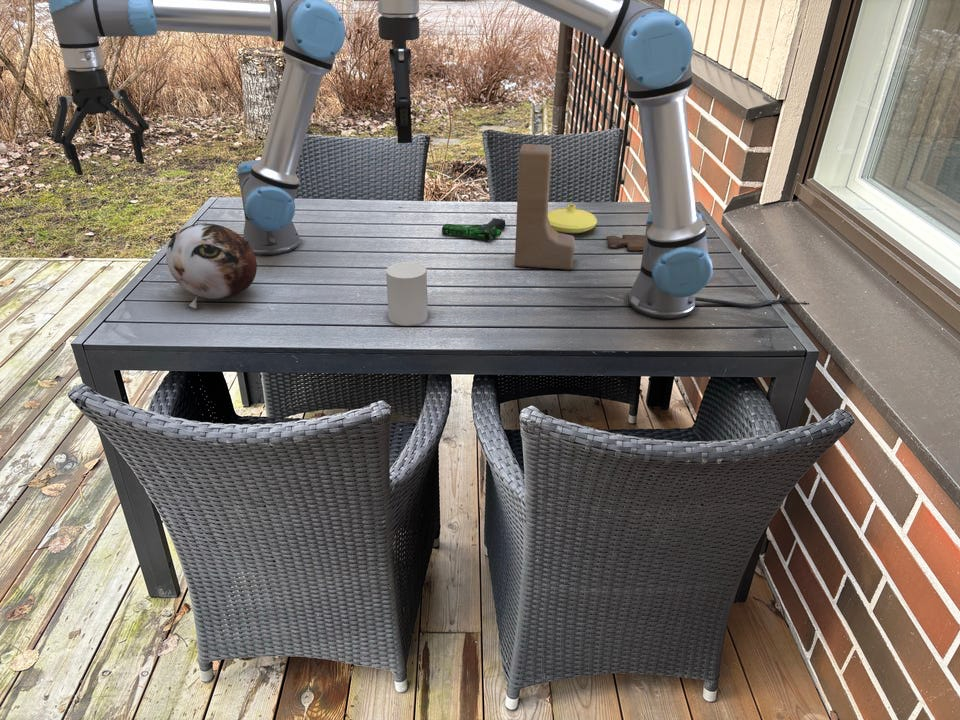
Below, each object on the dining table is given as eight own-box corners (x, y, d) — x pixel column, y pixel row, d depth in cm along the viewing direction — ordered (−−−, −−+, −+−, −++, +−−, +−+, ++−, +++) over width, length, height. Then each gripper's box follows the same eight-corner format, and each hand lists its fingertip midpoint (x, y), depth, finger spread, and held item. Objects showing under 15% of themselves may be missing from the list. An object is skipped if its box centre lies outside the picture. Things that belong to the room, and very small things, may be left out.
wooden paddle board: (703, 254, 196) (694, 240, 205) (704, 248, 195) (696, 235, 204) (609, 250, 196) (605, 237, 205) (610, 244, 196) (605, 232, 204)
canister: (419, 328, 157) (418, 280, 151) (382, 322, 159) (379, 275, 153) (433, 311, 164) (432, 264, 158) (397, 305, 166) (395, 259, 160)
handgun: (511, 219, 210) (493, 234, 198) (511, 228, 211) (492, 244, 199) (461, 212, 215) (440, 226, 203) (461, 221, 217) (440, 236, 204)
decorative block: (572, 270, 184) (582, 153, 169) (514, 266, 186) (519, 150, 171) (572, 259, 191) (582, 146, 175) (516, 255, 192) (521, 143, 177)
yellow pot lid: (559, 216, 220) (561, 193, 217) (605, 227, 212) (608, 204, 209) (532, 230, 209) (533, 207, 206) (580, 242, 201) (582, 218, 198)
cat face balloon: (130, 285, 161) (164, 203, 163) (192, 308, 177) (221, 233, 178) (195, 307, 151) (229, 220, 152) (254, 330, 166) (285, 250, 168)
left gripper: (26, 76, 141) (57, 182, 152) (151, 64, 157) (171, 161, 168) (14, 72, 146) (45, 175, 157) (137, 60, 161) (157, 155, 172)
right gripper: (377, 9, 140) (383, 120, 151) (378, 22, 119) (385, 150, 130) (415, 9, 141) (418, 119, 152) (423, 22, 120) (426, 149, 131)
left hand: (110, 168), depth 162 cm, fingers open, 13 cm apart
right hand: (403, 134), depth 141 cm, fingers open, 13 cm apart
